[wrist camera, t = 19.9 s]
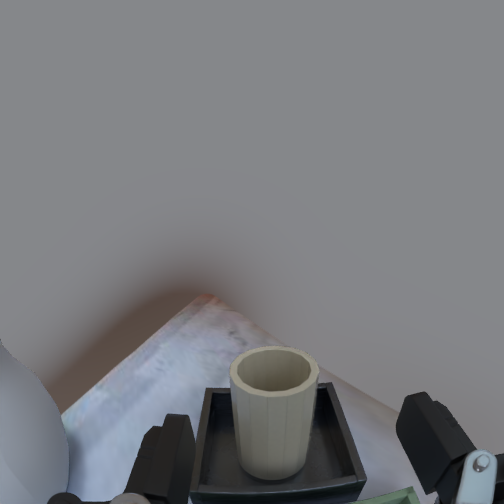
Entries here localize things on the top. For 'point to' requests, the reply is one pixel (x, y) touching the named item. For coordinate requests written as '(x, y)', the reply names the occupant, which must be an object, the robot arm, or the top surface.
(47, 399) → the soap bottle
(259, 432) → the cup
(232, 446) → the black tray
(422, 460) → the robot arm
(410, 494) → the green divided tray
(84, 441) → the top surface
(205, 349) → the top surface
